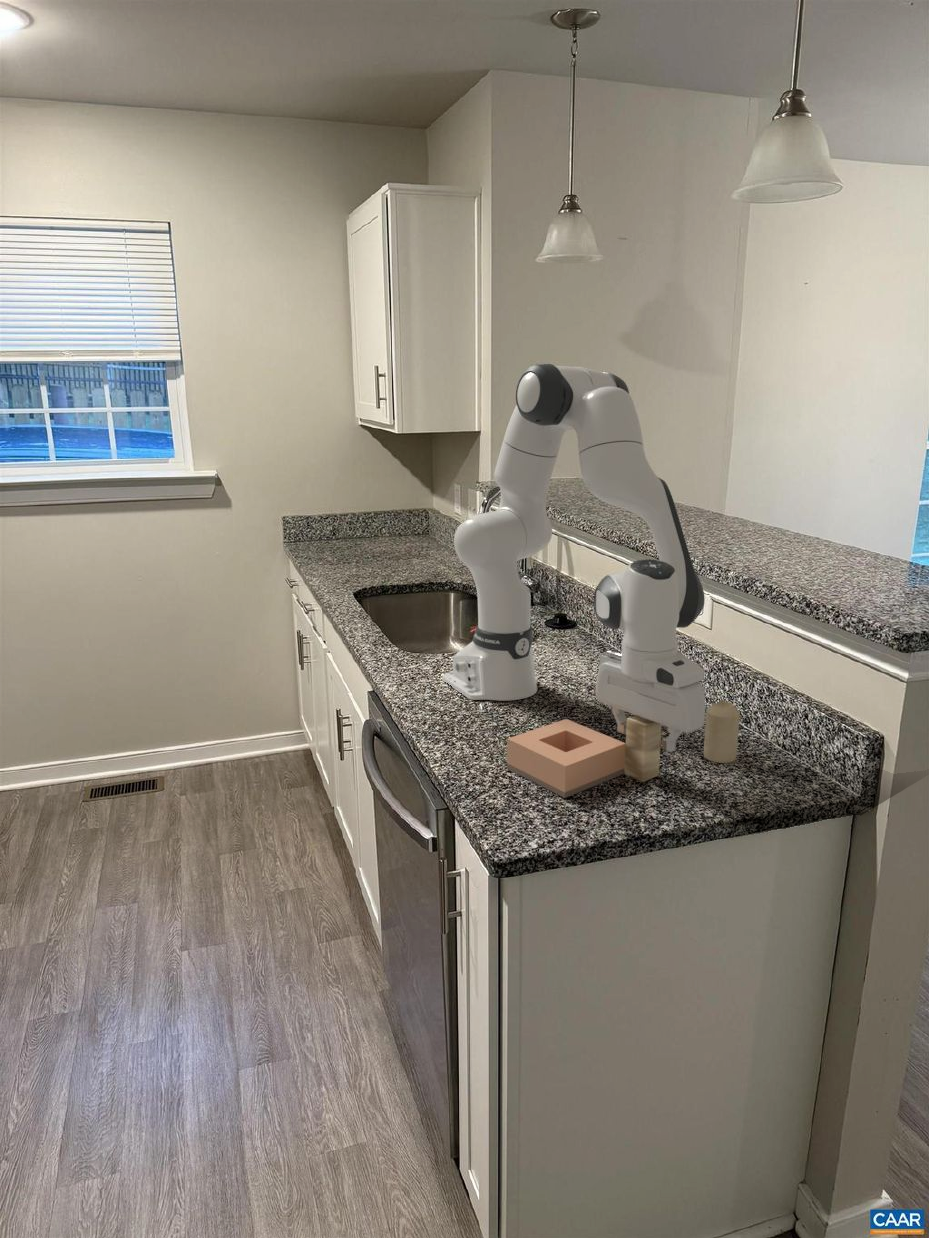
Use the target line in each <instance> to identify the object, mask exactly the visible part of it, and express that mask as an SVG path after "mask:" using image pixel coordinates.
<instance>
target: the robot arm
mask: <svg viewBox="0 0 929 1238" xmlns="http://www.w3.org/2000/svg"><path fill="white" fill-rule="evenodd" d="M515 403H516V405H515V407H514V409H513V411H512V413H511V416H510V419H509V421H508V424H507V427H506V429H505V433H504V436H503V440H502V444H501V447H500V451H499V454H498V458H497V462H496V465H495V469H494V473H493V477H494V481H495V483H496V485H497V486H498V487H499V489H500V500H499V501H500V502H499V504H498V505H499V506H498V508H497V509H496V510H492V511H488V512H483V513H479V514H476V515H474V516H472V517H470V518H468V519H466V520H465V521H463V522H462V523H461V524H460V525H459V526H458V527H457V528H456V530H455V532H454V539H453V546H454V547H453V548H454V551H455V554H456V556H457V557H458V559H459V560H460V561H461V562H462V563H463V564H464V565H465V566H467V568H468V569H469V571H470V573H471V575H472V578H473V580H474V581H473V582H474V584H475V589H476V595H477V620H478V622H477V624H478V625H476V626H471V627H470V629H471V630H470V633H474V635H473V638H472V641H471V642H470V643H468V644H467V645H465V646H464V647H463V648H462V649H460V650H459V651H458V652H457V653H456V654H455V655H454V657H453V661H452V670H449V671H448V672H446V673H444V674H443V675H441V676H442V678H441V680H442V682H444V683H445V682H446V683H445V684H447V683H448V684H449V685H448V684H447V685H448V686H450V685H451V686H452V687H451V686H450V687H451V688H453V689H454V690H456V691H458V692H459V693H460V694H461V693H462V695H463V696H464V697H466V698H467V699H468V700H471V701H473V700H474V701H477V700H479V701H483V700H484V701H485V700H487V701H488V700H489V701H501V702H503V701H505V702H506V701H517V700H521V699H522V700H523V699H527V698H530V697H532V696H534V695H535V694H536V693H537V692H538V685H537V684H538V682H539V678H538V676H537V675H536V667H535V659H534V656H535V655H534V649H533V647H532V644H533V636H534V633H533V626H532V625H531V604H532V603H531V602H532V601H531V600H532V598H531V596H532V595H531V591H530V588H529V587H528V586H527V585H526V584H525V583H523V582H522V580H521V577H520V575H519V570H518V561H520V560H524V559H527V558H530V557H531V558H532V557H533V556H535V555H537V554H538V553H540V552H542V550H544V549H545V548H546V547H547V546H548V545H549V543H550V541H551V539H552V536H553V526H552V523H551V520H550V517H548V515H547V496H548V490H549V485H550V483H551V478H552V475H553V471H554V469H555V464H556V461H557V458H558V455H559V451H560V448H561V444H562V441H563V438H564V434H565V433H566V432H567V431H568V430H574V431H575V433H576V437H577V448H578V459H579V467H580V473H581V478H582V481H583V484H584V486H585V487H586V490H588V491H589V492H590V493H591V494H592V495H593V497H595V498H597V499H599V500H600V501H602V502H604V503H606V504H608V505H610V506H613V507H616V508H620V509H623V510H625V511H628V512H631V513H632V514H634V515H636V516H638V517H639V518H641V519H642V520H643V521H644V522H646V524H647V525H648V528H649V529H650V531H651V536H652V538H653V542H654V545H655V550H656V552H657V556H658V560H657V559H649V558H646V559H639V560H635V561H633V562H631V563H630V564H629V565H628V566H627V568H626V570H623V571H620V572H615V573H612V574H607V575H605V576H604V577H603V578H602V579H601V580H600V581H599V583H598V584H597V586H596V588H595V590H594V597H593V598H594V599H593V600H594V603H593V605H594V614H595V616H596V618H597V620H598V621H600V623H602V624H603V625H604V626H605V627H607V628H608V629H611V630H620V631H622V632H623V638H622V641H621V652H616V651H614V650H612V649H611V650H610V649H609V650H606V651H604V652H603V653H602V654H601V655H600V657H599V669H598V672H597V678H596V683H595V697H596V699H597V701H598V702H599V703H602V704H603V705H604V704H605V705H606V706H610V707H612V709H611V710H612V711H611V712H612V715H613V717H614V719H615V722H616V723H617V724H616V725H617V726H616V727H617V729H616V730H617V733H620V734H623V735H626V726H627V718H628V717H627V716H626V713H625V712H627V713H629V714H632V715H633V716H635V715H637V716H640V717H643V718H646V719H648V720H651V721H654V722H657V723H659V724H661V726H662V725H663V726H665V727H667V733H669V735H668V736H667V737H666V738H663V739H661V750H664V751H666V752H669V753H671V752H673V751H675V750H676V747H677V746H676V745H677V740H678V739H679V737H680V736H681V735H682V733H684V734H691V733H693V732H695V731H697V730H700V729H701V727H703V725H704V724H705V720H706V697H705V690H704V687H703V685H702V684H701V683H700V682H701V681H702V680H703V679H704V677H705V670H704V668H703V667H702V666H700V665H699V664H698V663H696V662H694V661H693V660H692V659H690V658H688V657H687V656H686V655H684V653H682V652H681V651H679V650H678V649H679V648H678V645H679V644H678V638H677V628H682V629H683V628H687V627H689V626H690V625H691V624H693V623H694V622H695V621H696V619H697V618H698V617H699V616H700V614H701V613H702V611H703V610H704V607H705V591H704V588H703V585H702V582H701V580H700V577H699V576H698V574H697V571H696V569H695V567H694V563H693V561H692V559H691V555H690V552H689V548H688V546H687V542H686V537H685V534H684V532H683V528H682V524H681V521H680V518H679V514H678V510H677V508H676V504H675V501H674V499H673V498H674V497H673V496H672V492H671V490H670V488H669V486H668V484H667V482H666V481H665V480H663V478H660V477H658V476H657V474H656V473H655V471H653V468H652V467H651V465H650V464H649V461H648V459H647V457H646V453H645V448H644V441H643V433H642V429H641V424H640V421H639V416H638V413H637V409H636V406H635V404H634V401H633V398H632V396H631V395H630V391H629V387H628V385H627V384H626V382H625V381H624V380H623V379H622V378H621V377H619V376H617V375H615V374H613V373H610V372H607V371H600V370H596V369H593V368H589V367H584V366H579V365H578V366H568V365H554V364H552V363H543V364H540V363H539V364H536V365H532V366H529V367H528V368H527V369H525V371H524V372H523V373H522V374H521V376H520V378H519V380H518V383H517V386H516V389H515Z"/></svg>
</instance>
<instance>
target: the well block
mask: <svg viewBox="0 0 929 1238" xmlns="http://www.w3.org/2000/svg"><path fill="white" fill-rule="evenodd" d="M625 749H626V742H623V741H621V740H619V739H617V738H613V737H611V736H609V735H607V734H604V733H602V732H599V731H596V730H594V729H592V728H590V727H587V726H585V725H583V724H582V725H581V724H580V723H577V722H575V721H572V720H569V719H567V718H565V719H562V720H559V721H556V722H553V723H550V724H547V725H544V726H541V727H538V728H535V729H532V730H529V731H526V732H523V733H520V734H516V735H514V736H511V737H507V739H506V769H508V770H509V771H511V772H512V773H515V774H517V775H519V776H521V777H523V778H525V779H527V780H529V781H531V782H533V783H534V784H537V785H539V786H540V787H541V788H544V789H546V790H548V791H550V792H552V793H554V794H556V795H558V796H559V797H561V798H563V799H565V798H568V797H572V796H573V795H577V794H578V793H581V792H583V791H586V790H587V789H591V788H592V787H596V786H597V785H600V784H602V783H603V784H604V783H605V782H608V781H610V780H613V779H614V778H617V777H620V776H622V775H625V774H624V773H625Z"/></svg>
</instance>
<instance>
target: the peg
mask: <svg viewBox="0 0 929 1238" xmlns="http://www.w3.org/2000/svg"><path fill="white" fill-rule="evenodd" d="M626 718H627V726H626V734H625V743H626V749H625V772H624V774H623V775H626V776H628V777H631V778H633V779H635V780H637V781H639V782H642V783H645V782H647V781H649V780H652V779H653V778H656V777H658V776H659V775H660V758H661V756H660V755H661V744H662V739H661V738H662V724H659V723H657V722H654V721H651V720H648V719H646V718H643V717H640V716H637V715H632V716H630V717H626Z"/></svg>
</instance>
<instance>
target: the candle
mask: <svg viewBox="0 0 929 1238" xmlns="http://www.w3.org/2000/svg"><path fill="white" fill-rule="evenodd" d="M740 715H741V713H740V711H739V710H738V708H737V707H736V706H735V705H734V703H732V702H726V701H724V700H720V701H718V702H714V703H713V704H711V705H710V706H709V707H708V708H706V711H705V729H704V739H703V740H704V742H703V743H704V744H703V756H704V758H705V759H706V760H708V761H710V762H713V763H717V764H730V763H733V762H735V761H736V760H737V752H738V741H739V740H738V739H739V729H740V727H739V725H740Z"/></svg>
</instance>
